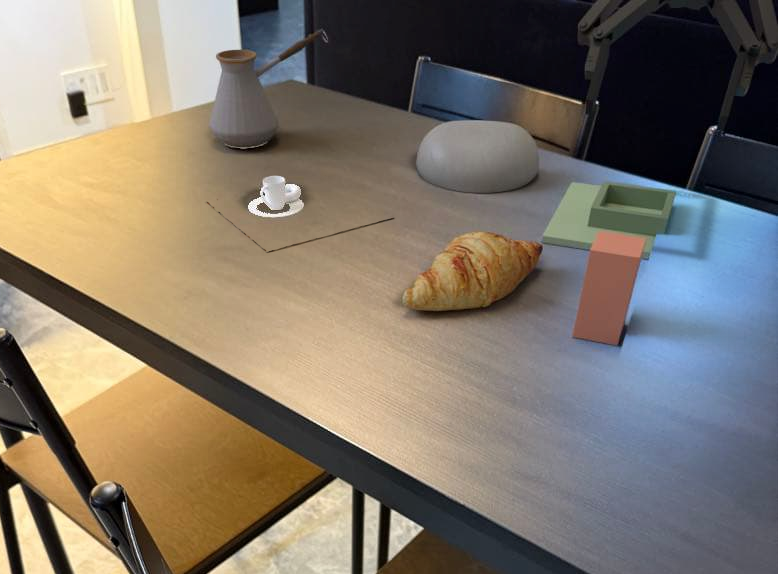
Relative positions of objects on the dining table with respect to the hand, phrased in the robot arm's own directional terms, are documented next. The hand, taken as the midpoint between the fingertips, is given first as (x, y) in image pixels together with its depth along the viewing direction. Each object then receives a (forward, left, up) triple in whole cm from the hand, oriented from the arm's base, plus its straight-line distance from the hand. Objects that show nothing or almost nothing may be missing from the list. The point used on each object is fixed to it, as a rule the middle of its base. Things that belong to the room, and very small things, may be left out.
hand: (654, 115), depth 80 cm
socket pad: (+1, -18, -19) cm, 26 cm away
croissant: (+16, +8, -19) cm, 26 cm away
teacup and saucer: (+46, -6, -19) cm, 50 cm away
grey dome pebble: (+26, -29, -19) cm, 44 cm away
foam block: (0, +12, -19) cm, 22 cm away
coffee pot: (+63, -32, -19) cm, 73 cm away
